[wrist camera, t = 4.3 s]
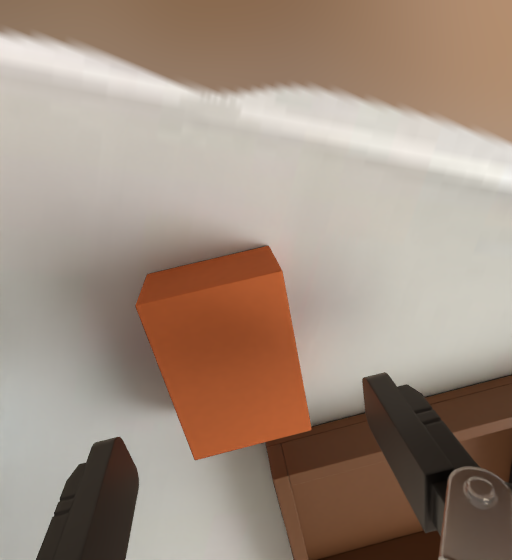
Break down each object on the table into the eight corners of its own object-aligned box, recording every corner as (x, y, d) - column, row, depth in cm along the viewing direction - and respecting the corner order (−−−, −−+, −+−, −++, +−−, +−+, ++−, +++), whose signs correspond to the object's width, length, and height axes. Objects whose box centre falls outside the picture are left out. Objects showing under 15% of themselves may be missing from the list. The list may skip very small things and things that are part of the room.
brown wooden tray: (297, 561, 25) (306, 607, 23) (264, 438, 20) (272, 479, 18) (583, 483, 26) (621, 519, 24) (618, 346, 21) (671, 375, 19)
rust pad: (195, 412, 19) (194, 460, 16) (146, 273, 16) (134, 305, 13) (296, 386, 19) (311, 430, 16) (268, 245, 16) (282, 270, 13)
